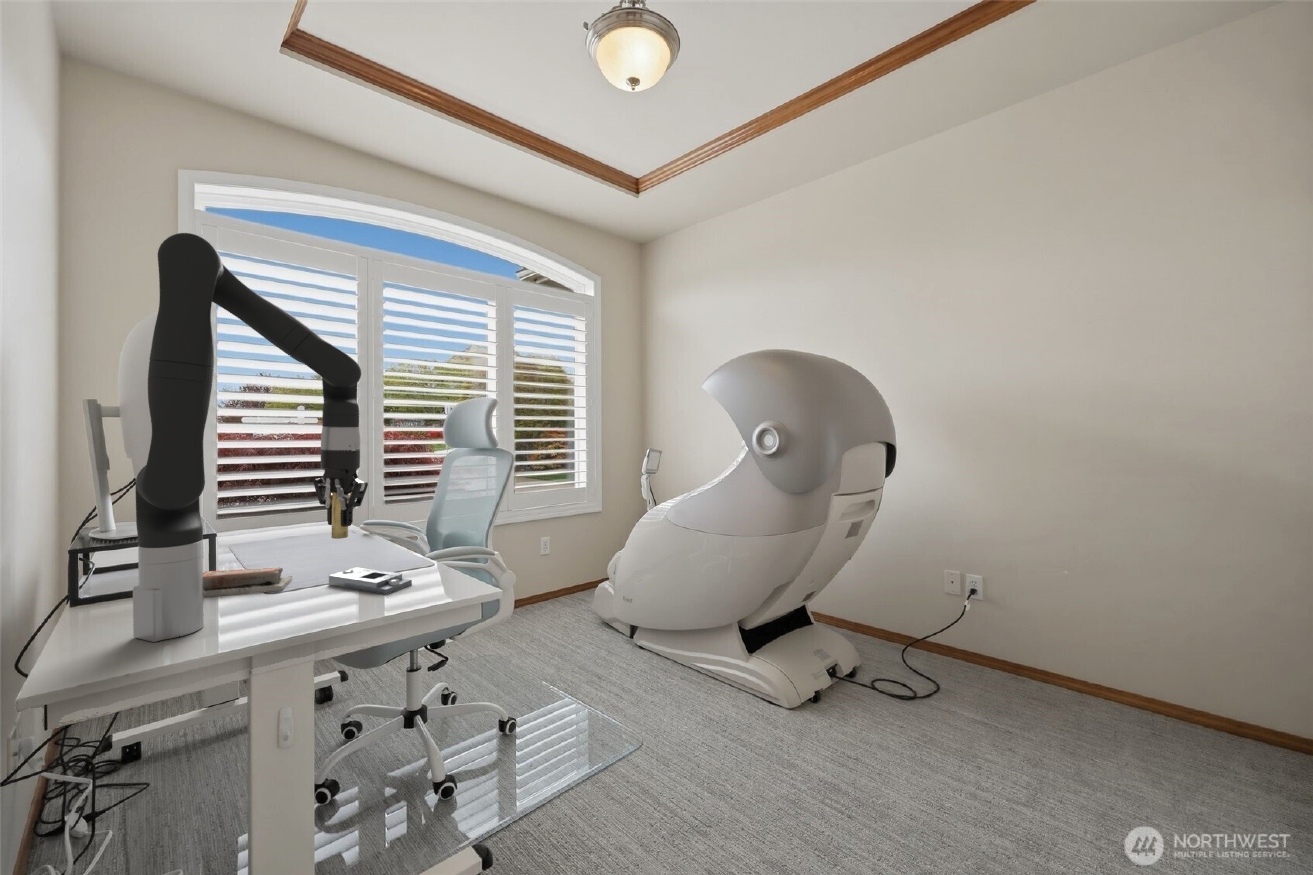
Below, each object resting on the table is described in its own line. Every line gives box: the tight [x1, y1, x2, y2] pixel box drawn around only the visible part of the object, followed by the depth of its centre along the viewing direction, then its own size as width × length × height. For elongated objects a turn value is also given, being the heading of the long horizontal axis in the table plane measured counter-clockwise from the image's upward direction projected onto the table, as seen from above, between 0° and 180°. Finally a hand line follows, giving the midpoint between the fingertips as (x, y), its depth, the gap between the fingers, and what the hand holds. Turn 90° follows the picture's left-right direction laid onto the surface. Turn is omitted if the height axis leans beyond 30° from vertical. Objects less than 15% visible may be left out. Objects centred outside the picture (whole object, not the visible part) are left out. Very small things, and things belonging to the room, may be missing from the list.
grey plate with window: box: [328, 566, 413, 595], centre depth 135 cm, size 8×18×3 cm, turn 71°
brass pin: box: [330, 492, 349, 540], centre depth 120 cm, size 3×3×10 cm
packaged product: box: [203, 567, 294, 598], centre depth 131 cm, size 18×5×10 cm
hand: (339, 525), depth 120 cm, fingers closed on brass pin, 3 cm apart
